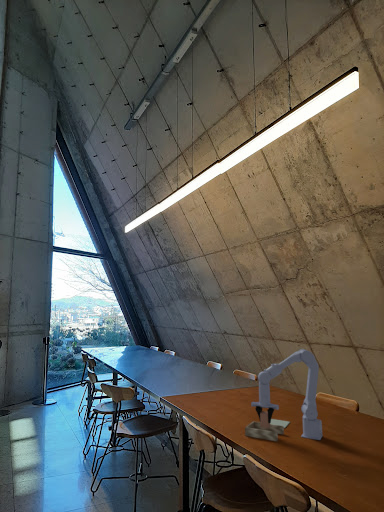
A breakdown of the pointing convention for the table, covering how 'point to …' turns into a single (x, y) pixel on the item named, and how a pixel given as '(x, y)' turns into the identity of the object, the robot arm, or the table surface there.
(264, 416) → the terracotta block
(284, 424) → the mat
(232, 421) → the table surface
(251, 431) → the slot housing
